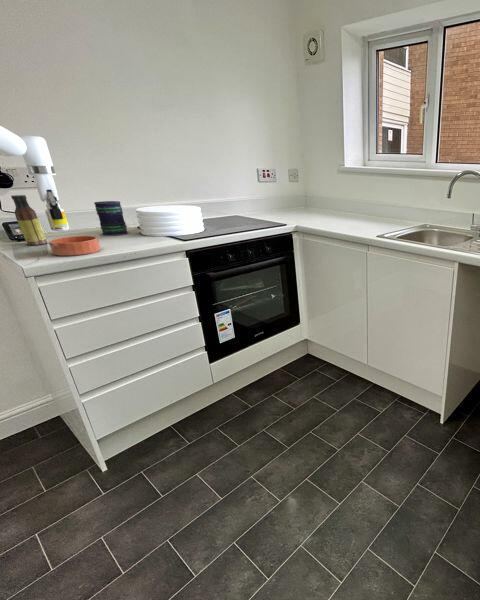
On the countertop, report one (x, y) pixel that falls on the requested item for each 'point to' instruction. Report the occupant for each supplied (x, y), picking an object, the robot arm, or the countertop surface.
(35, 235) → the sauce bottle
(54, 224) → the supplement bottle
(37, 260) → the countertop surface
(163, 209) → the plate stack
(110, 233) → the storage jar
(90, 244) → the bowl
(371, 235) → the countertop surface
